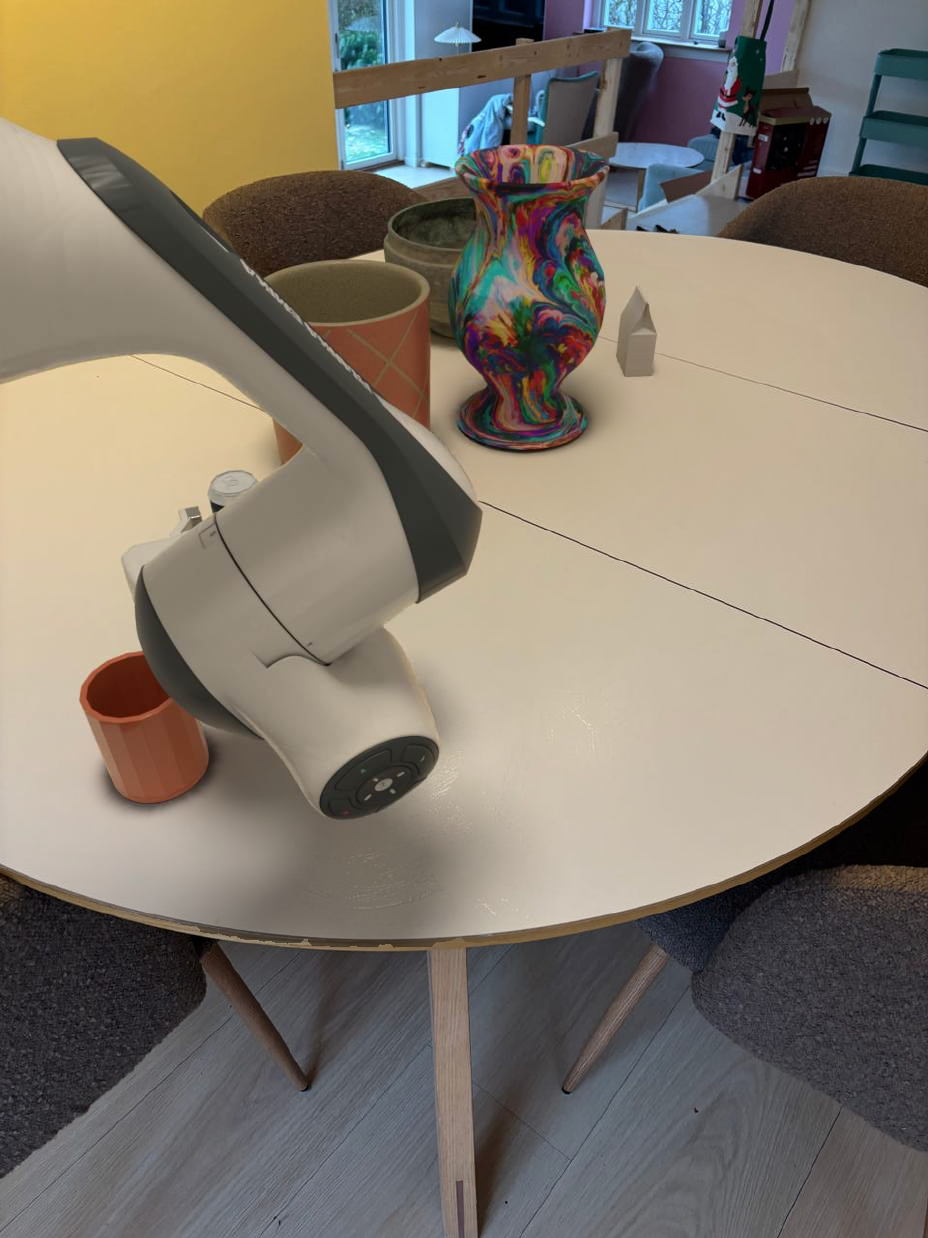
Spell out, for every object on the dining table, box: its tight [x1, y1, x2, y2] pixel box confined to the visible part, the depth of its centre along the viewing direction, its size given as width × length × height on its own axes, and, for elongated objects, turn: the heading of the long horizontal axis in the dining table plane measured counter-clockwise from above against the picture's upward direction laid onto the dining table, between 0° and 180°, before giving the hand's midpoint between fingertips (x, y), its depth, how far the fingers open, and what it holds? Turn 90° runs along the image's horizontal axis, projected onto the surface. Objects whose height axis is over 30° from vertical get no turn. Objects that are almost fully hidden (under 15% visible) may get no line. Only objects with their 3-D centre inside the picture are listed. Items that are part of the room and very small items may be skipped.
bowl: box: [383, 196, 477, 339], centre depth 133 cm, size 32×26×15 cm
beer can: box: [207, 469, 259, 514], centre depth 83 cm, size 5×5×12 cm
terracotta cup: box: [78, 650, 210, 804], centre depth 68 cm, size 7×7×9 cm
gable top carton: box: [615, 285, 658, 378], centre depth 122 cm, size 4×7×10 cm, turn 2°
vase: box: [447, 143, 611, 450], centre depth 104 cm, size 18×18×30 cm
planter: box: [263, 258, 431, 465], centre depth 101 cm, size 19×19×20 cm
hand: (252, 501), depth 68 cm, fingers open, 8 cm apart
